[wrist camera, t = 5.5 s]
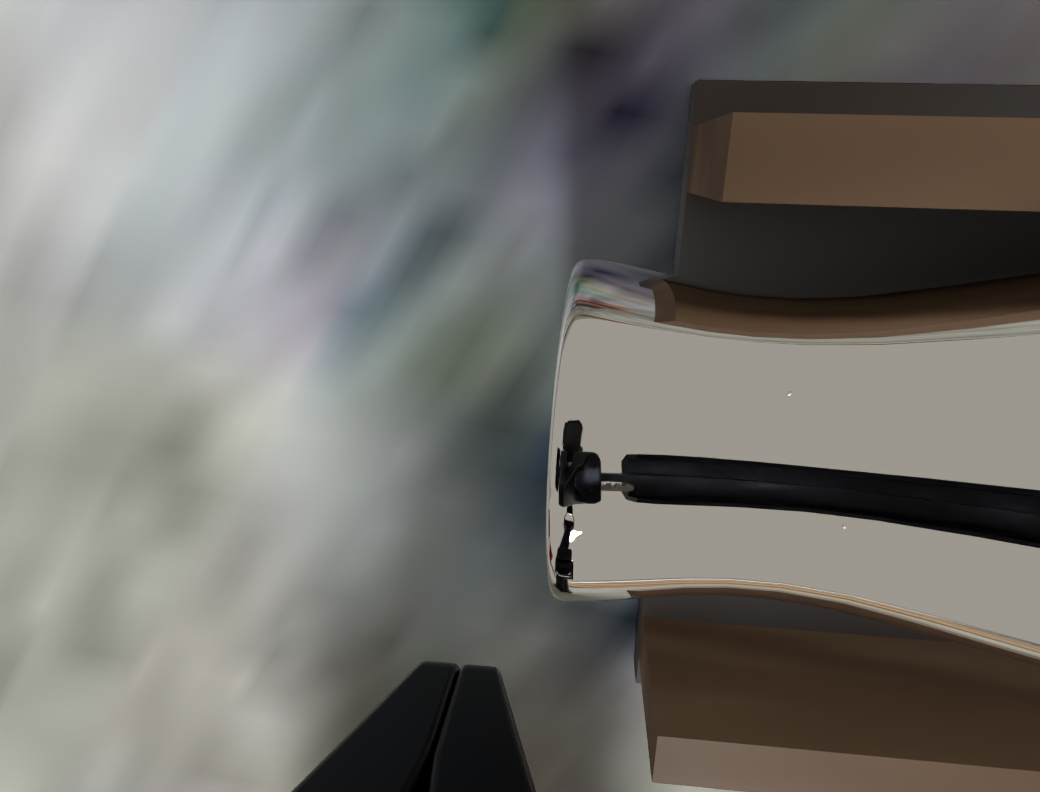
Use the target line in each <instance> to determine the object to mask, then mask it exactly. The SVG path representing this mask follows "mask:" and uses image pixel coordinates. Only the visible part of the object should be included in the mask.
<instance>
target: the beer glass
mask: <svg viewBox="0 0 1040 792" xmlns="http://www.w3.org/2000/svg"><path fill="white" fill-rule="evenodd" d="M546 560H547V573H548V581H549V588H550V591H551V593H552V594H553V596H554V597H555V598H557V599H559V600H562V601H571V602H591V601H610V600H625V599H638V598H652V597H667V596H687V595H725V596H739V597H752V598H766V599H773V600H779V601H785V602H791V603H797V604H803V605H809V606H815V607H821V608H827V609H831V610H835V611H839V612H843V613H847V614H851V615H854V616H858V617H862V618H866V619H870V620H874V621H878V622H882V623H886V624H889V625H893V626H897V627H901V628H904V629H908V630H911V631H915V632H918V633H922V634H925V635H929V636H932V637H936V638H940V639H943V640H947V641H950V642H954V643H957V644H961V645H964V646H968V647H971V648H975V649H978V650H982V651H985V652H989V653H992V654H996V655H1000V656H1003V657H1007V658H1011V659H1014V660H1018V661H1022V662H1025V663H1029V664H1033V665H1036V666H1040V269H1033V270H1024V271H1015V272H1006V273H998V274H990V275H982V276H974V277H966V278H958V279H950V280H942V281H933V282H925V283H917V284H907V285H896V286H886V287H876V288H866V289H855V290H845V291H778V290H766V289H753V288H740V287H734V286H727V285H721V284H715V283H709V282H703V281H698V280H693V279H689V278H684V277H680V276H675V275H671V274H666V273H662V272H657V271H653V270H649V269H644V268H640V267H635V266H630V265H626V264H621V263H616V262H610V261H605V260H596V259H585V260H580V261H579V262H578V263H577V264H576V265H575V266H574V268H573V271H572V274H571V277H570V281H569V284H568V289H567V293H566V298H565V303H564V309H563V315H562V322H561V329H560V336H559V343H558V352H557V360H556V369H555V379H554V389H553V400H552V412H551V424H550V438H549V454H548V473H547V497H546Z"/></svg>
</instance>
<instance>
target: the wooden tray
mask: <svg viewBox="0 0 1040 792" xmlns="http://www.w3.org/2000/svg"><path fill="white" fill-rule="evenodd" d="M1033 269H1040V85H993V84H931V83H869V82H807V81H744V80H697V81H696V82H695V83H693V84H692V88H691V98H690V107H689V117H688V127H687V137H686V147H685V157H684V167H683V177H682V187H681V197H680V207H679V217H678V227H677V237H676V247H675V257H674V267H673V275H675V276H680V277H684V278H689V279H693V280H698V281H703V282H709V283H715V284H721V285H727V286H734V287H740V288H753V289H766V290H778V291H845V290H855V289H866V288H876V287H886V286H896V285H907V284H917V283H925V282H933V281H942V280H950V279H958V278H966V277H974V276H982V275H990V274H998V273H1006V272H1015V271H1024V270H1033ZM634 667H635V678H636V683H641V684H642V693H643V702H644V712H645V721H646V730H647V739H648V749H649V758H650V767H651V777H652V782H654V783H664V784H675V785H685V786H695V787H705V788H715V789H725V790H735V791H745V792H1040V666H1036V665H1033V664H1029V663H1025V662H1022V661H1018V660H1014V659H1011V658H1007V657H1003V656H1000V655H996V654H992V653H989V652H985V651H982V650H978V649H975V648H971V647H968V646H964V645H961V644H957V643H954V642H950V641H947V640H943V639H940V638H936V637H932V636H929V635H925V634H922V633H918V632H915V631H911V630H908V629H904V628H901V627H897V626H893V625H889V624H886V623H882V622H878V621H874V620H870V619H866V618H862V617H858V616H854V615H851V614H847V613H843V612H839V611H835V610H831V609H827V608H821V607H815V606H809V605H803V604H797V603H791V602H785V601H779V600H773V599H766V598H752V597H739V596H725V595H687V596H667V597H652V598H640V604H639V614H638V624H637V634H636V644H635V654H634Z"/></svg>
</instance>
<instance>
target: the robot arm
mask: <svg viewBox="0 0 1040 792" xmlns="http://www.w3.org/2000/svg"><path fill="white" fill-rule="evenodd" d="M292 792H536V791H535V788H534V784H533V781H532V778H531V774H530V771H529V767H528V764H527V761H526V757H525V754H524V751H523V747H522V744H521V741H520V737H519V734H518V730H517V727H516V724H515V720H514V717H513V714H512V710H511V707H510V703H509V700H508V697H507V693H506V690H505V687H504V683H503V680H502V677H501V673H500V671H499V670H498V669H497V668H496V667H490V666H479V665H464V666H462V668H461V669H459V667H458V666H457V665H456V664H454V663H445V662H433V661H424V662H422V663H420V664H419V665H418V666H417V667H416V668H415V669H414V670H413V671H412V672H411V673H410V674H409V675H408V676H407V677H406V678H405V679H404V680H403V681H402V682H401V683H400V684H399V685H398V686H397V687H396V688H395V689H394V690H393V691H392V692H391V693H390V694H389V695H388V696H387V697H386V698H385V699H384V700H383V701H382V702H381V703H380V704H379V705H378V706H377V707H376V708H375V709H374V710H373V711H372V712H371V713H370V714H369V715H368V716H367V717H366V718H365V719H364V720H363V721H362V722H361V723H360V724H359V725H358V726H357V727H356V728H355V729H354V730H353V731H352V732H351V733H350V734H349V735H348V736H347V737H346V738H345V739H344V740H343V741H342V742H341V743H340V744H339V745H338V746H337V747H336V748H335V749H334V750H333V751H332V752H331V753H330V754H329V755H328V756H327V757H326V758H325V759H324V760H323V761H322V762H321V763H320V764H319V765H318V766H317V767H316V768H315V769H314V770H313V771H312V772H311V773H310V774H309V775H308V776H307V777H306V778H305V779H304V780H303V781H302V782H301V783H300V784H299V785H298V786H297V787H296V788H295V789H294V790H293V791H292Z"/></svg>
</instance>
